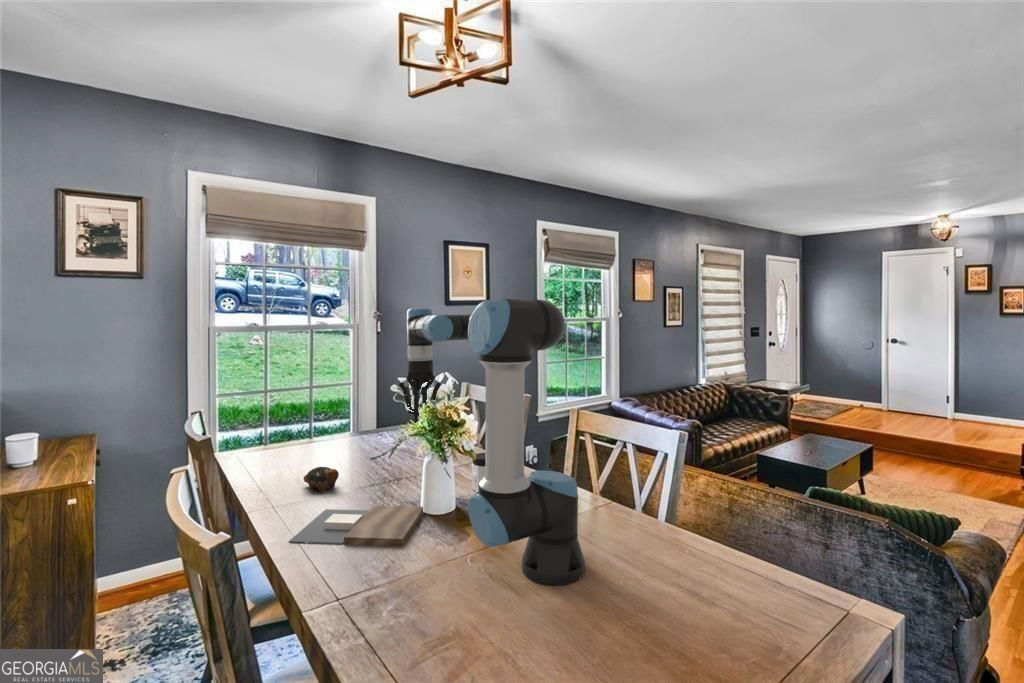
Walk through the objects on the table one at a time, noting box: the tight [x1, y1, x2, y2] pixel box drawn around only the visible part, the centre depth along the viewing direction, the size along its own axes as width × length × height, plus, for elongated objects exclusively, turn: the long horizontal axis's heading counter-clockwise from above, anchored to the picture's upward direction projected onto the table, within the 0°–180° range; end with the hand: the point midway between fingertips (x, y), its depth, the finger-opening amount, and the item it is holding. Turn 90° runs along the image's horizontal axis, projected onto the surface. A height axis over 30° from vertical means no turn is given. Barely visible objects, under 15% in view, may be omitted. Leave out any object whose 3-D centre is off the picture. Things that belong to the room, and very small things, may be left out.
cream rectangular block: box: [324, 514, 363, 530], centre depth 144 cm, size 9×6×2 cm, turn 85°
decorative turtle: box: [303, 466, 340, 493], centre depth 176 cm, size 10×15×8 cm, turn 71°
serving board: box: [343, 505, 424, 547], centre depth 143 cm, size 16×22×2 cm
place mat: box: [288, 508, 370, 545], centre depth 145 cm, size 15×22×1 cm
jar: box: [471, 452, 485, 492], centre depth 174 cm, size 9×8×12 cm
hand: (421, 436), depth 151 cm, fingers closed
